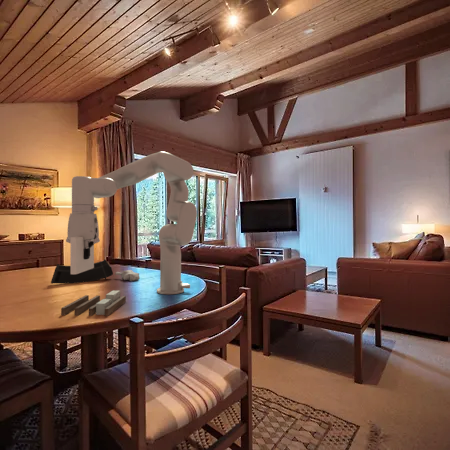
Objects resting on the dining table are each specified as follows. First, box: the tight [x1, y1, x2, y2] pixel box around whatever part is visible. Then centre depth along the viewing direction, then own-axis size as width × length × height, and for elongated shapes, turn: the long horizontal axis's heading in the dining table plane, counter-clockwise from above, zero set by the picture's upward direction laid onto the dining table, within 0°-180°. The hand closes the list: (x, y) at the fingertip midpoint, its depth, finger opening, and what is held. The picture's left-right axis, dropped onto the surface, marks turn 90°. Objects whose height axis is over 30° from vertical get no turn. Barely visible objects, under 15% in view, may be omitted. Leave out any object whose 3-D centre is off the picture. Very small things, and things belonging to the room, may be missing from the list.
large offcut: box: [105, 290, 121, 304], centre depth 117 cm, size 3×7×5 cm, turn 0°
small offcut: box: [95, 298, 111, 316], centre depth 108 cm, size 3×6×4 cm, turn 1°
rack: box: [60, 294, 127, 317], centre depth 112 cm, size 16×18×2 cm
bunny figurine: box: [114, 269, 140, 282], centre depth 168 cm, size 10×5×15 cm
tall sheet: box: [70, 237, 95, 274], centre depth 112 cm, size 2×14×13 cm, turn 0°
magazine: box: [50, 259, 114, 285], centre depth 160 cm, size 17×3×30 cm
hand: (82, 258), depth 112 cm, fingers closed on tall sheet, 2 cm apart
